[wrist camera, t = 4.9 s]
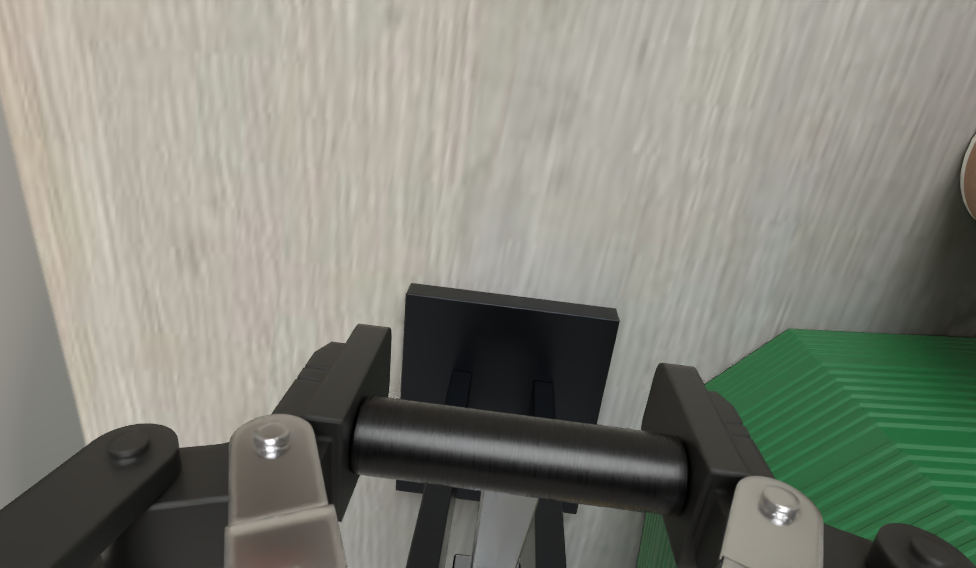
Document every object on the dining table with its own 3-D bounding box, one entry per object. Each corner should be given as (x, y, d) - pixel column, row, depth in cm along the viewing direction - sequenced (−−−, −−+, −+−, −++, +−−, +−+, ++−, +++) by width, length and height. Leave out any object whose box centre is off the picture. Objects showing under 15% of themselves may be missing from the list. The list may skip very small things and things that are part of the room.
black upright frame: (411, 282, 27) (307, 491, 14) (616, 308, 27) (693, 542, 14) (400, 473, 32) (315, 756, 19) (574, 496, 32) (604, 797, 19)
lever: (371, 358, 11) (335, 477, 9) (681, 398, 11) (701, 526, 9) (400, 571, 20) (385, 648, 19) (564, 593, 20) (564, 673, 18)
